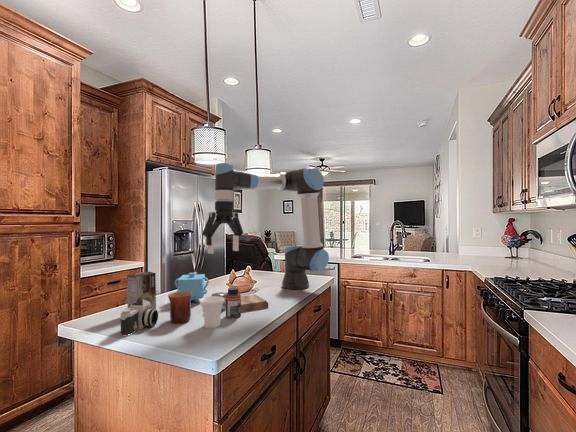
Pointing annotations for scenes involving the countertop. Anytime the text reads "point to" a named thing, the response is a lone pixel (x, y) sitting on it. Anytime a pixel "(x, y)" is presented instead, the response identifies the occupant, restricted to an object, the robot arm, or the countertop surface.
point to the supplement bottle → (233, 303)
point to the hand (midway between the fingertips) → (223, 252)
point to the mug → (180, 306)
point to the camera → (137, 317)
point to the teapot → (193, 285)
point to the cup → (211, 310)
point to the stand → (252, 303)
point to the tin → (223, 297)
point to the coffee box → (141, 288)
